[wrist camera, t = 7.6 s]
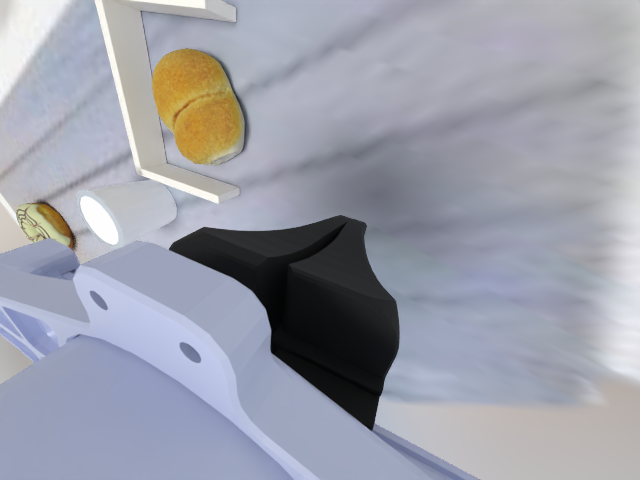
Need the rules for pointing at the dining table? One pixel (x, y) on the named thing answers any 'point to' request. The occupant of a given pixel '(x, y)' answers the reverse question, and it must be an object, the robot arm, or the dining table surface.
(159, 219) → the white short cylinder
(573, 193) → the dining table surface
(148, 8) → the tray
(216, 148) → the bread roll
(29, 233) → the decorated donut
